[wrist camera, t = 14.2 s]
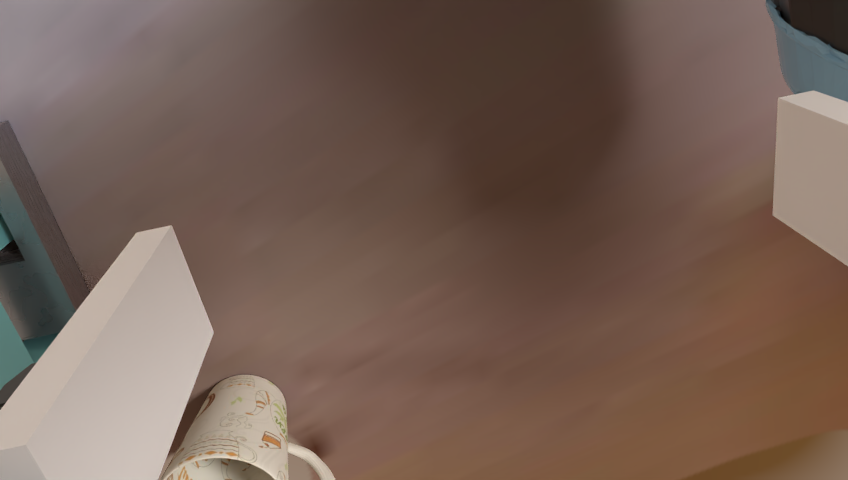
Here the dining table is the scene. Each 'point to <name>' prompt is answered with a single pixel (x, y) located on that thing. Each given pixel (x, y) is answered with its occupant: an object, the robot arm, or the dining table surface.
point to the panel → (16, 335)
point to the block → (33, 251)
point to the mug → (240, 436)
